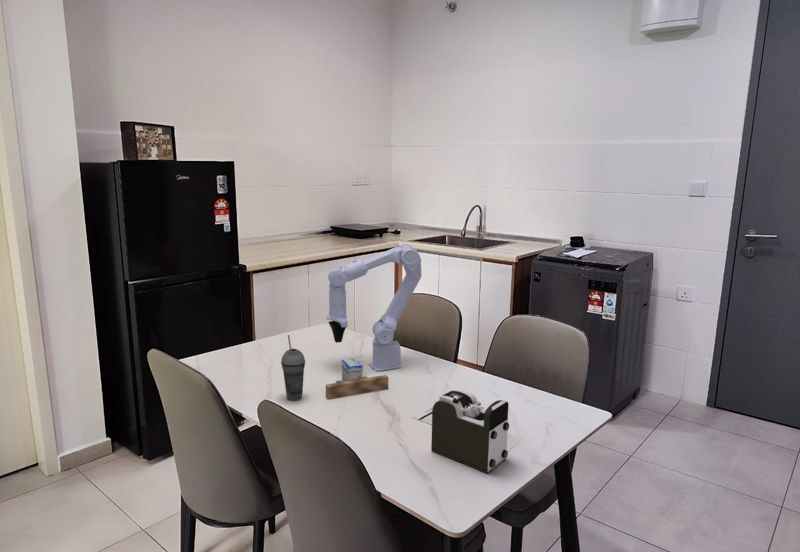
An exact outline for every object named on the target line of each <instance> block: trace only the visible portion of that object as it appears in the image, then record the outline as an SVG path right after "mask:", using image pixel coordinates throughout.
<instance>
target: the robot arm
mask: <svg viewBox="0 0 800 552" xmlns="http://www.w3.org/2000/svg"><path fill="white" fill-rule="evenodd" d="M388 263H394V264H400V263H401V265H402V266H403V270H404V273H405V276H404V277H403V280H402V281H401V283H400V284H399V287H398V289H397V290H396V292H395V294H394V296H393V298H392V300H391V301H390V303H389V305H388V307H387V308H386V311H384V313H383V314H382V315H381V317H380V318H379V319H378V320H377V321H376V322H374V324H373V326H372V333H373V335H374V339H373V340H372V362H369V363H368V365H369V366H370V367H371V368H373V370H375V371H376V372H380V371H389V370H394V369H401V368H402V365H401V363H402V361H401V357H402V355H401V351H402V350H401V344H400V342H399V341H398V340H394V335H395V334H394V333H395V331H396V329H397V325H398V320H399V319H400V317H401V316H402V314H403V311H404V310H405V308H406V306H407V304H408V302H409V301H410V298H411V297H412V295H413V294H414V291H415V290H416V287H417V286H418V284H419V282H420V281H421V278H422V258H421V255H420V253H419V251H418V250H417V249H416V248H414V247H413V246H412V245H410V244H408V243H407V244H406V243H405V244H402V245H399V246H395V247H393V248H390V249H388V250H386V251H383V252H381V253H379V254H376V255H374V256H373V257H370V258H368V259H366V260H362V259H360V258H359V259H357V258H354V259H352V262H349V263H347V264H343V265H342V264H340V265H339V267H334V268H331V270H330V271H329V272H328V276H327V278H328V281H329V285H328V288H329V290H328V307H329V308H328V310H329V311H328V315H327V316H325V319H326V320H328V324H329V326H330V328H331V331H332V334H333V339H334V342H335V343H342V342H343V338H344V333H345V331H346V328H348V326H349V325H348V315H347V294H346V293H347V290H346V283H347V282H348V283H349V282H352V281H355V280H358V279H360V278H361V277H365V276H366V275H367V273H368V272H369V270H372V269H374V268H377V267H380V266H382V265H386V264H388Z"/></svg>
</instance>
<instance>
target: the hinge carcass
mask: <svg viewBox="0 0 800 552" xmlns="http://www.w3.org/2000/svg"><path fill="white" fill-rule="evenodd" d="M384 390H385V391H386V390H389V376H388V375H387V374H383V375H377V376H373V377H372V376H370V377H368V376H366V375H365V376H363V379H358V380H351V381H345V382H344V381H343V380H342V379H340V380H336V381H335V382H334V383H329V384H325V398H326V399H327V400H331V399H337V398H343V397H349V396H350V397H351V396H354V395H361V394H366V393H367V394H368V393H373V392H379V391H384Z"/></svg>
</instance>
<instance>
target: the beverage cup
mask: <svg viewBox="0 0 800 552" xmlns="http://www.w3.org/2000/svg"><path fill="white" fill-rule="evenodd" d="M287 339H288V345H289V346H288V347H289V349H288V350H286V351H285V352H284V353H283V355H282V356H281V361H280V365H281V369H282V373H283V377H284V378H283V379H284V386H285V393H286V399H287V401H289V402H297V401H300V400H302V399H303V392H304V391H303V390H304V389H303V388H304V375H305V373H304V372H305V367H306V366H305V365H306V359H305V356H304V354H303V353H304V352H302V351H301V350H299V349H297V348H292V344H291V338H290V334H288V335H287Z"/></svg>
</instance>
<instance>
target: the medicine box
mask: <svg viewBox="0 0 800 552" xmlns="http://www.w3.org/2000/svg"><path fill="white" fill-rule="evenodd" d="M363 370H364V369H363V364H362V363H361V362H359V361H358V360H357V359H356V358H355V357H349V358H342V359H341V380H343V381H344V382H345V381H351V380H358V379H363V377H364V375H363V374H364V373H363V372H364V371H363Z"/></svg>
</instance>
